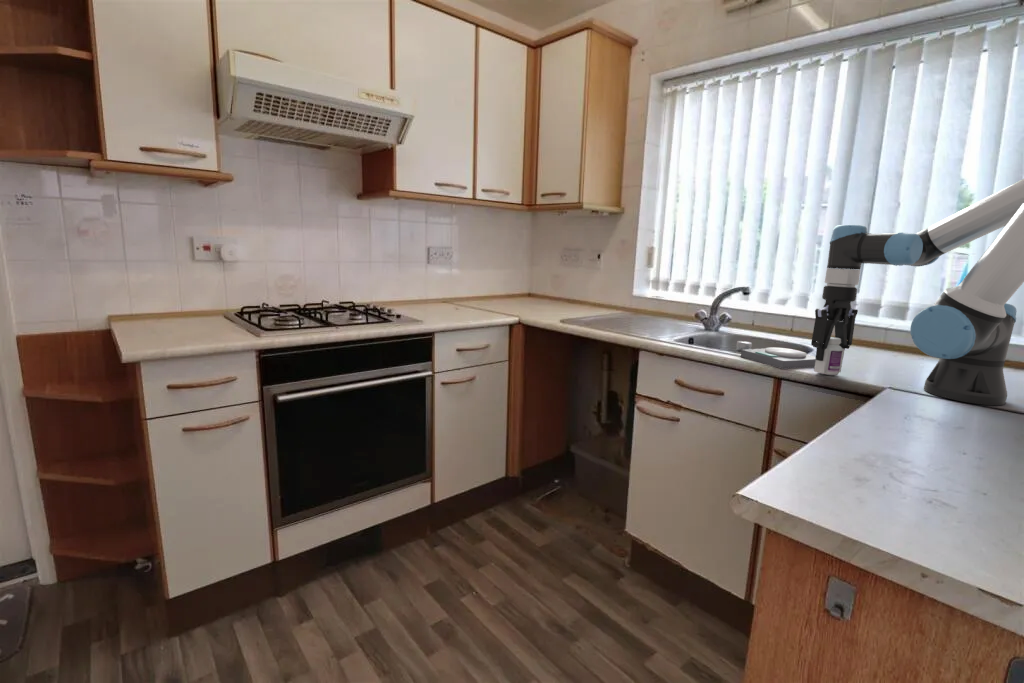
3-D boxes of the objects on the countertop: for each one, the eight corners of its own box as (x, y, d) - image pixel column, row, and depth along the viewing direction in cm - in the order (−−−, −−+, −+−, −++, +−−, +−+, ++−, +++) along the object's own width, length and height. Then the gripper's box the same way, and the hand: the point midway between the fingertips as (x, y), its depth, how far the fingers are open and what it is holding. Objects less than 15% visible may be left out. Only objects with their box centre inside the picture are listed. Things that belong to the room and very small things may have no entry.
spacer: (743, 349, 171) (744, 340, 170) (753, 352, 167) (755, 343, 166) (732, 350, 169) (734, 341, 168) (743, 353, 165) (744, 344, 164)
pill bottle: (838, 372, 142) (844, 337, 140) (838, 376, 137) (844, 340, 135) (815, 369, 144) (821, 335, 143) (815, 373, 140) (820, 337, 138)
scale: (778, 354, 165) (779, 345, 164) (822, 366, 151) (823, 356, 151) (740, 356, 159) (741, 347, 158) (782, 368, 145) (784, 358, 145)
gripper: (850, 284, 143) (837, 367, 148) (803, 283, 136) (791, 370, 140) (877, 287, 137) (863, 373, 141) (830, 286, 130) (816, 377, 134)
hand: (827, 371), depth 141 cm, fingers closed on pill bottle, 5 cm apart
